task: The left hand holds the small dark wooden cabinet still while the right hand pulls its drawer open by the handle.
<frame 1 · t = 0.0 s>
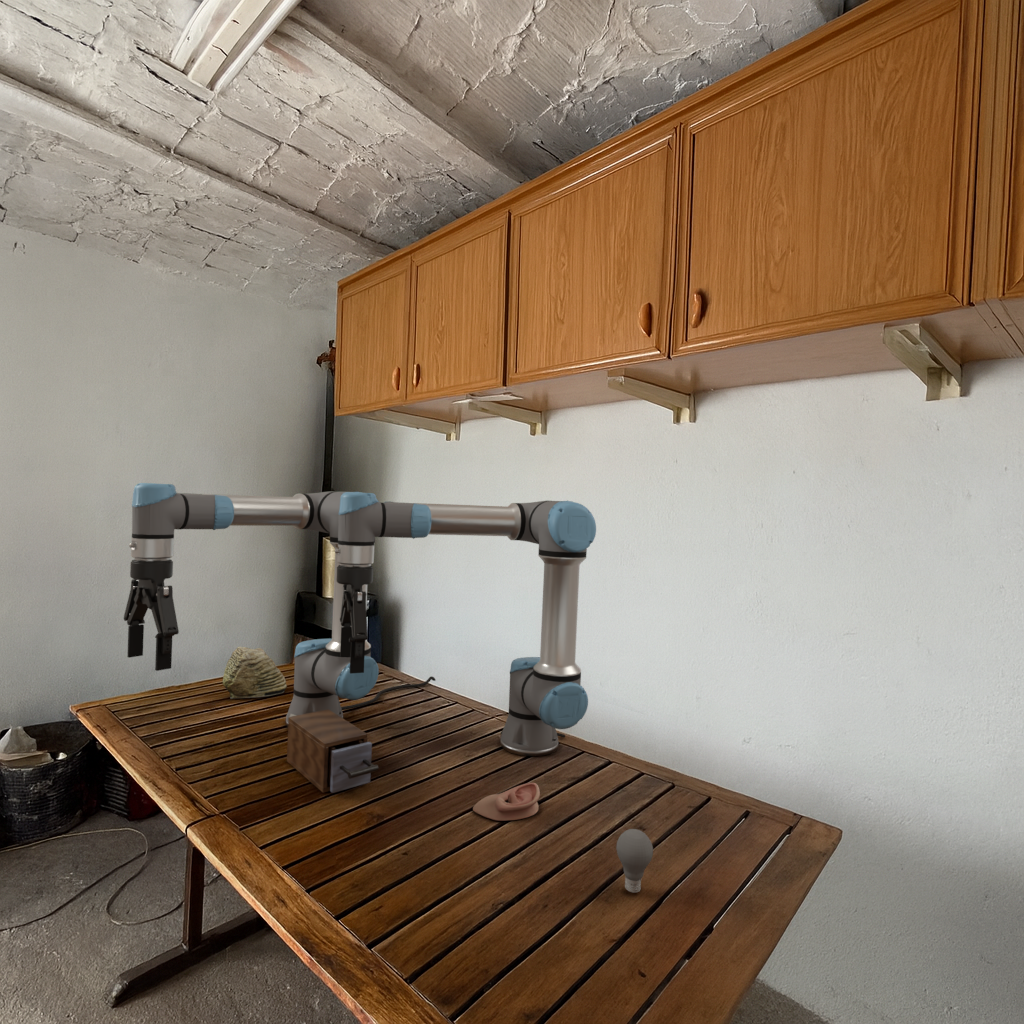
left hand: (148, 662, 129), 28 cm above the table, tool pointing down, fingers open, 13 cm apart
right hand: (351, 664, 135), 28 cm above the table, tool pointing down, fingers open, 13 cm apart
light bulb: (632, 891, 106), on the table
anatomical model: (506, 809, 132), on the table
fossil: (254, 694, 198), on the table
cabinet: (325, 770, 146), on the table
drawer: (338, 757, 141), point 5 cm above the table, slide at 2.0 cm
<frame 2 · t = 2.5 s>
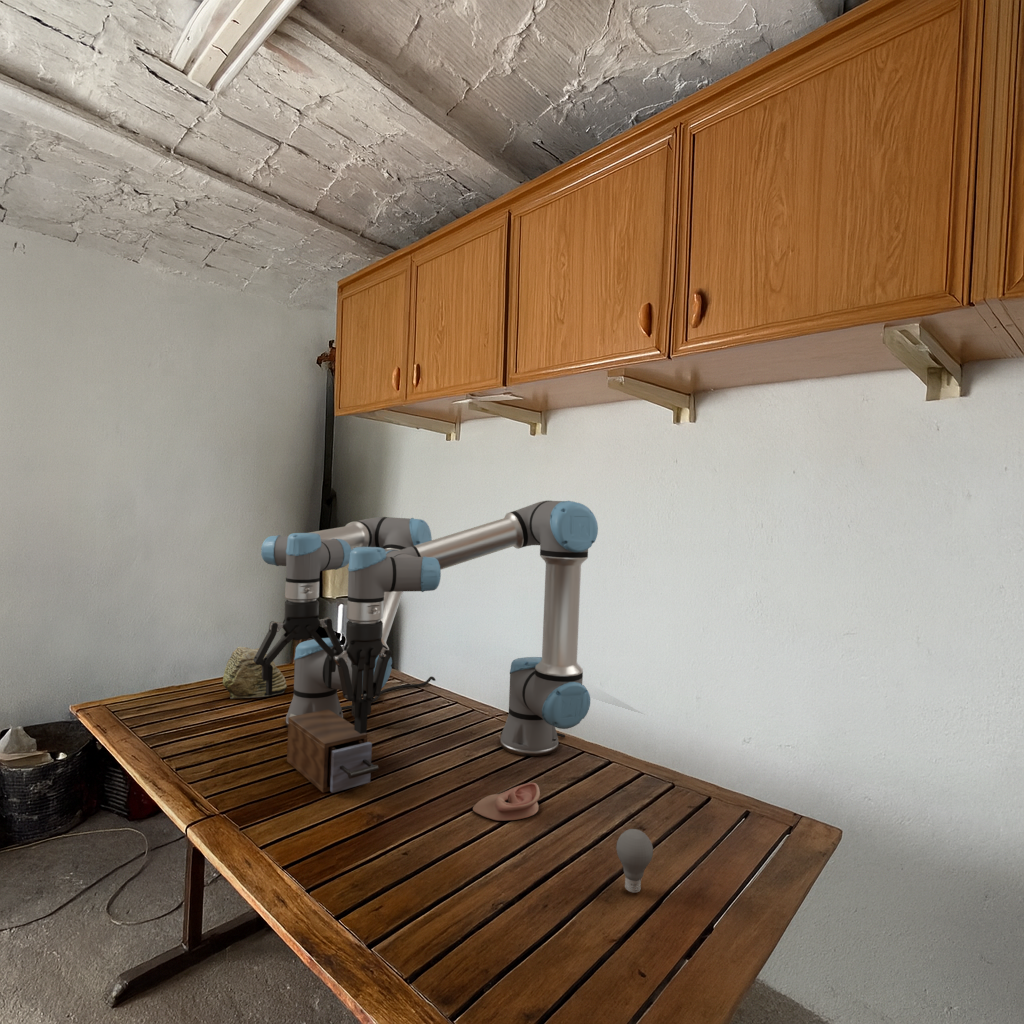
left hand: (299, 689, 148), 18 cm above the table, tool pointing down, fingers open, 13 cm apart
right hand: (360, 730, 134), 14 cm above the table, tool pointing down, fingers closed
nothing on the table moved.
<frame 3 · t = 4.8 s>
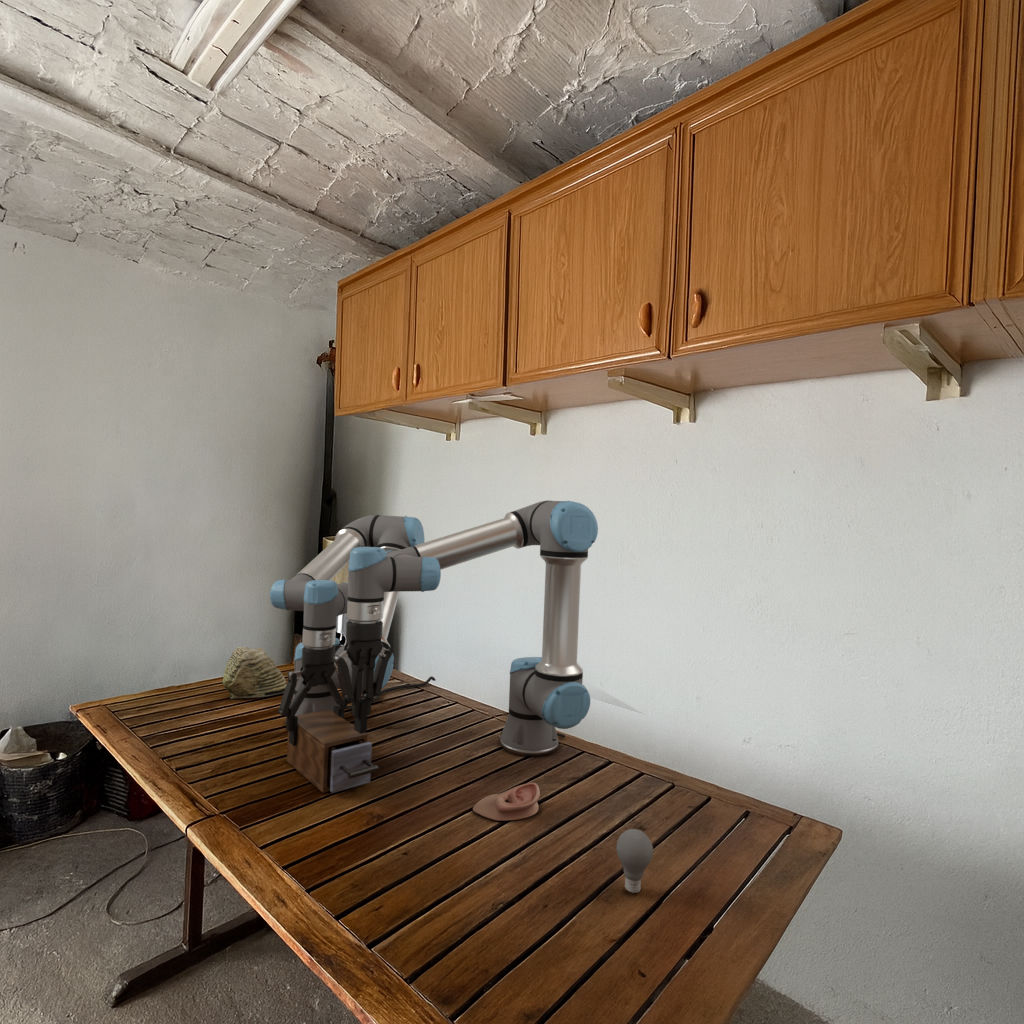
left hand: (315, 738, 151), 6 cm above the table, tool pointing down, fingers closed on cabinet, 10 cm apart
right hand: (360, 730, 134), 14 cm above the table, tool pointing down, fingers closed
cabinet: (325, 770, 146), on the table, touching left hand
everything else where it was.
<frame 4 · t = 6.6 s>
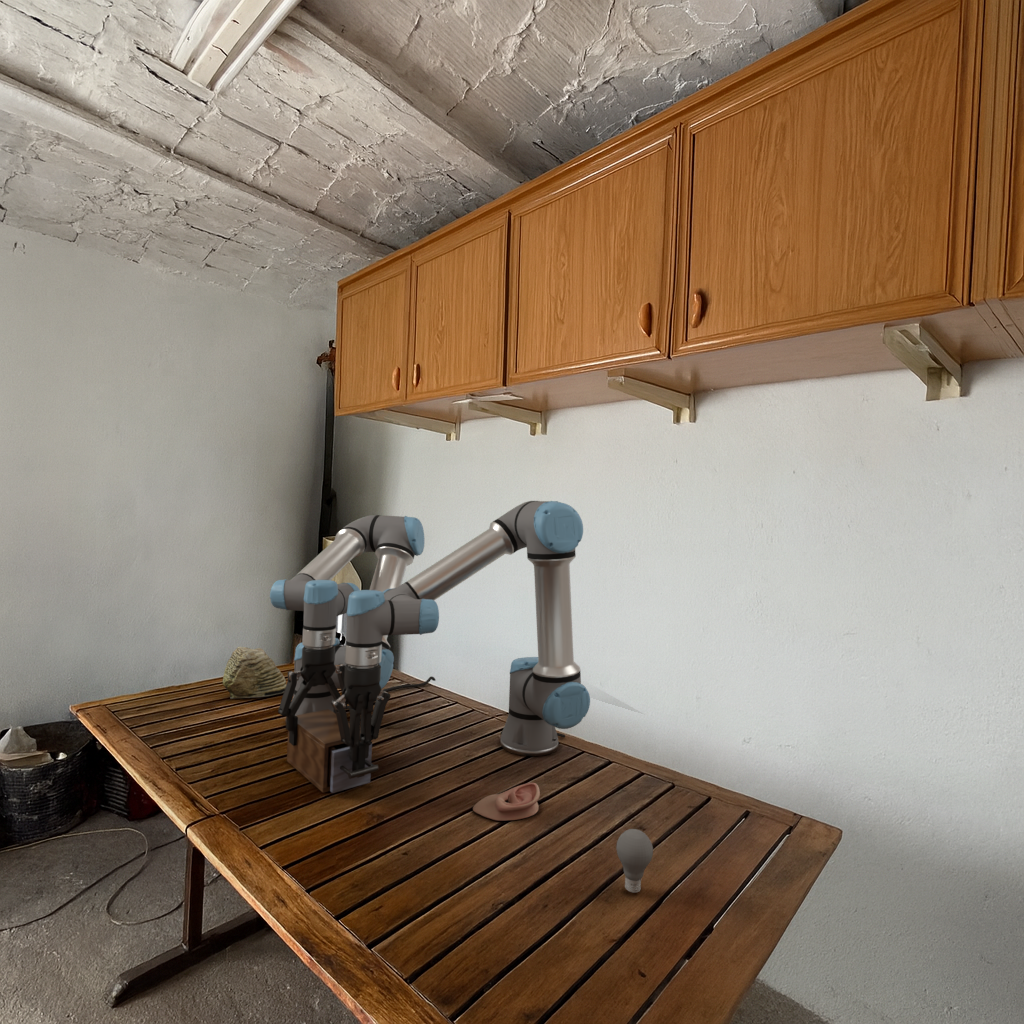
left hand: (315, 738, 151), 6 cm above the table, tool pointing down, fingers closed on cabinet, 10 cm apart
right hand: (358, 774, 134), 5 cm above the table, tool pointing down, fingers closed
cabinet: (325, 770, 146), on the table, touching left hand
drawer: (338, 757, 141), point 5 cm above the table, slide at 2.1 cm, touching right hand
everything else where it was.
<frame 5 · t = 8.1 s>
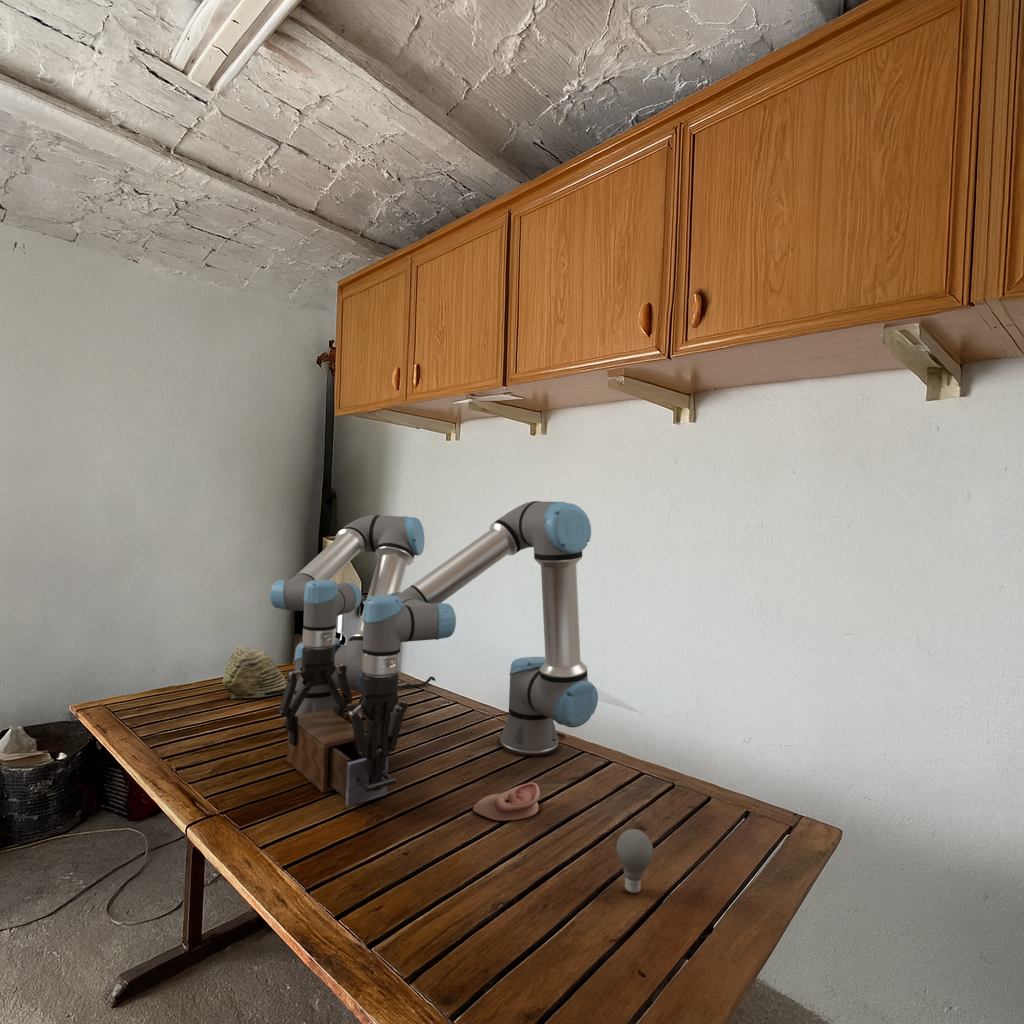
left hand: (315, 738, 151), 6 cm above the table, tool pointing down, fingers closed on cabinet, 10 cm apart
right hand: (374, 787, 129), 5 cm above the table, tool pointing down, fingers closed
cabinet: (325, 770, 146), on the table, touching left hand
drawer: (353, 768, 136), point 5 cm above the table, slide at 9.1 cm, touching right hand
everything else where it was.
when the left hand's fingers open (6 cm above the table, at t = 9.9 s): cabinet stays where it is, on the table.
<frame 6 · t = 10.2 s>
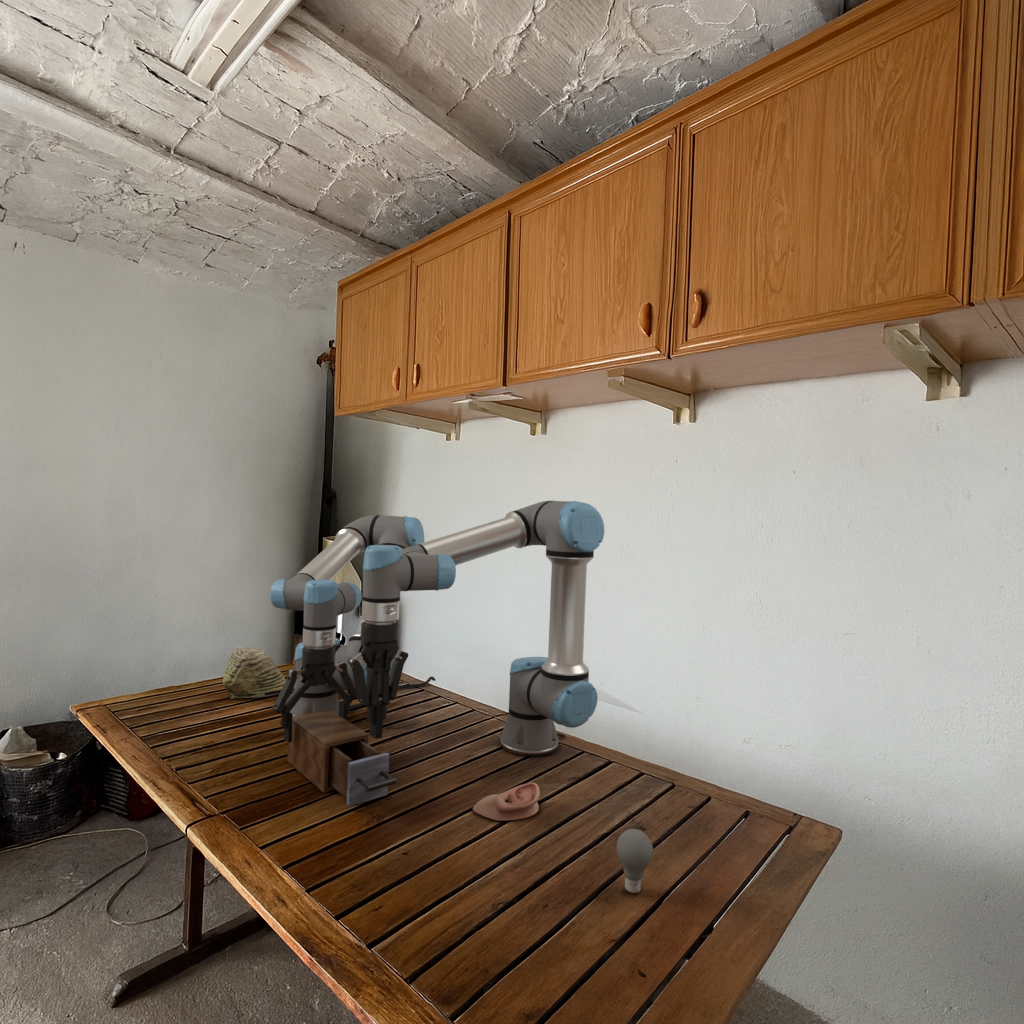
left hand: (315, 734, 151), 7 cm above the table, tool pointing down, fingers open, 13 cm apart
right hand: (375, 736, 129), 15 cm above the table, tool pointing down, fingers closed
cabinet: (325, 770, 146), on the table
drawer: (354, 768, 136), point 5 cm above the table, slide at 9.2 cm
everything else where it was.
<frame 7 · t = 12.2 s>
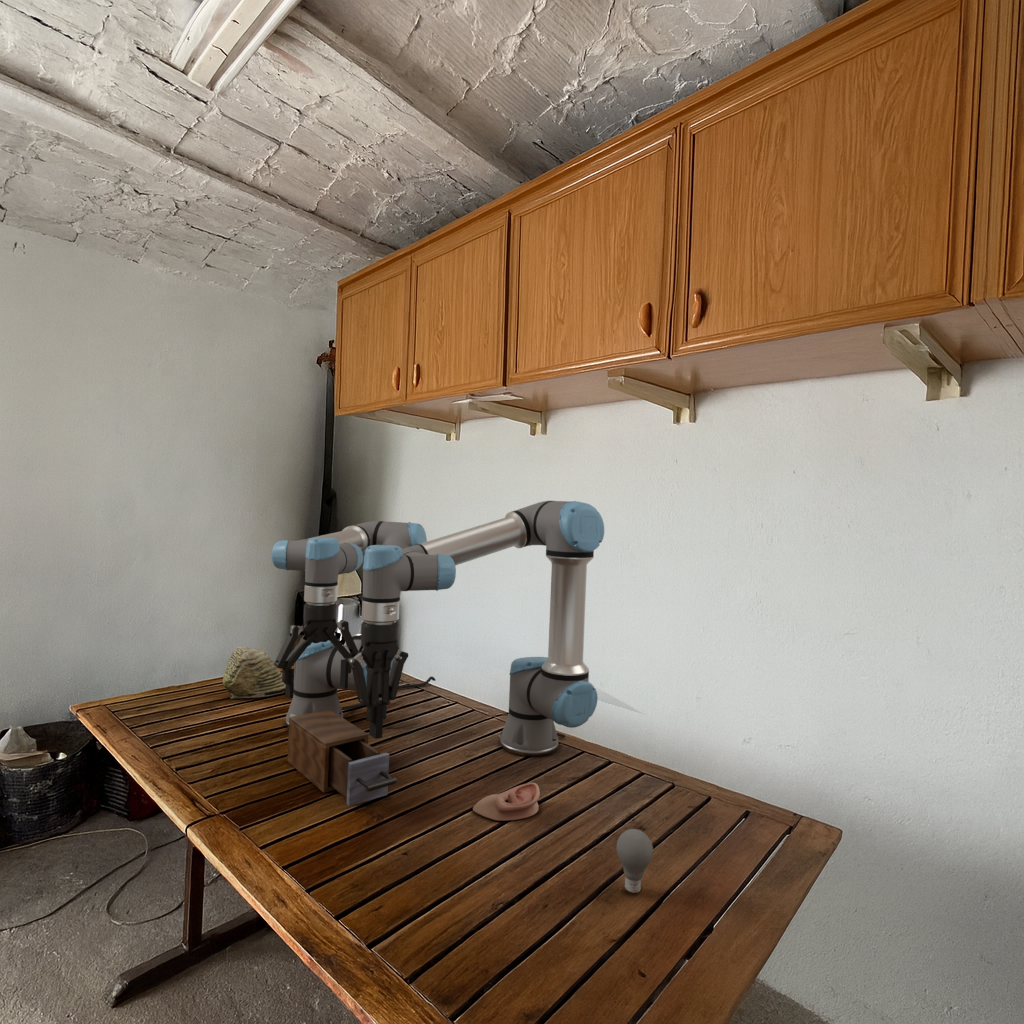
left hand: (317, 692, 151), 17 cm above the table, tool pointing down, fingers open, 13 cm apart
right hand: (375, 736, 129), 15 cm above the table, tool pointing down, fingers closed
nothing on the table moved.
at the end: drawer slide at 9.2 cm; cabinet tilted 0°; cabinet never tilted more than 1° during the clip; cabinet moved 0.2 cm from its start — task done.
